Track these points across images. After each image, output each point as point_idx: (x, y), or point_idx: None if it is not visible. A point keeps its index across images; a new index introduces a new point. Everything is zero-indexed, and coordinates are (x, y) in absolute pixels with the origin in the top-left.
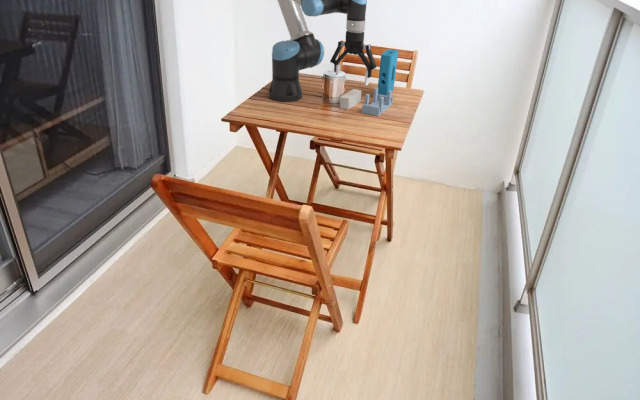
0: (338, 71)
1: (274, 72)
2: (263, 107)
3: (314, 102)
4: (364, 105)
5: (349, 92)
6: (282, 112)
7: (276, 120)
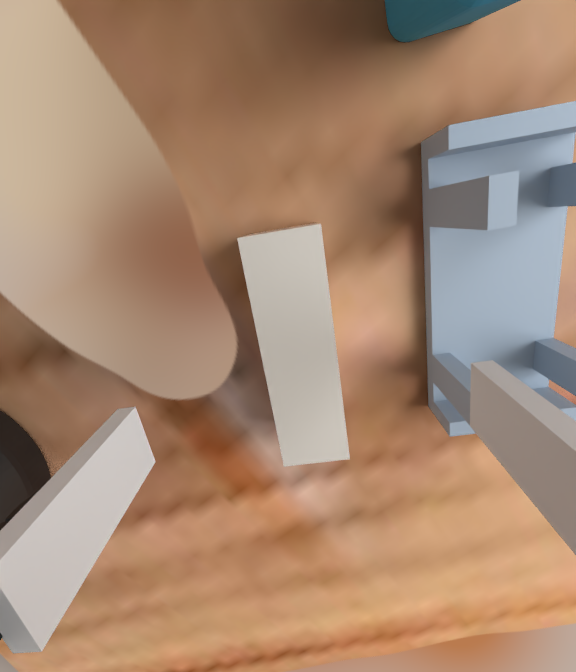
0: (94, 517)
1: None
2: None
3: None
4: (464, 433)
5: (271, 344)
6: (139, 606)
7: (189, 661)
